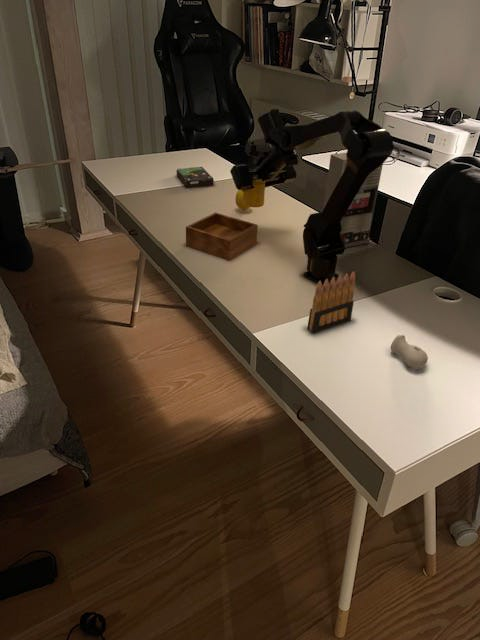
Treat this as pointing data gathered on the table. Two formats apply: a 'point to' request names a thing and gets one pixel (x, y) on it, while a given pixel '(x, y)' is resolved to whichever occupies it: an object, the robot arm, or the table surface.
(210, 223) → the wooden tray
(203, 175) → the disk drive
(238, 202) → the lemon
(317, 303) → the ammunition clip
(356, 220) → the labelled white carton
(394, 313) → the table surface
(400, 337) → the pale two-lobed sculpture
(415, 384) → the table surface
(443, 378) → the table surface
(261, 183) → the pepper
